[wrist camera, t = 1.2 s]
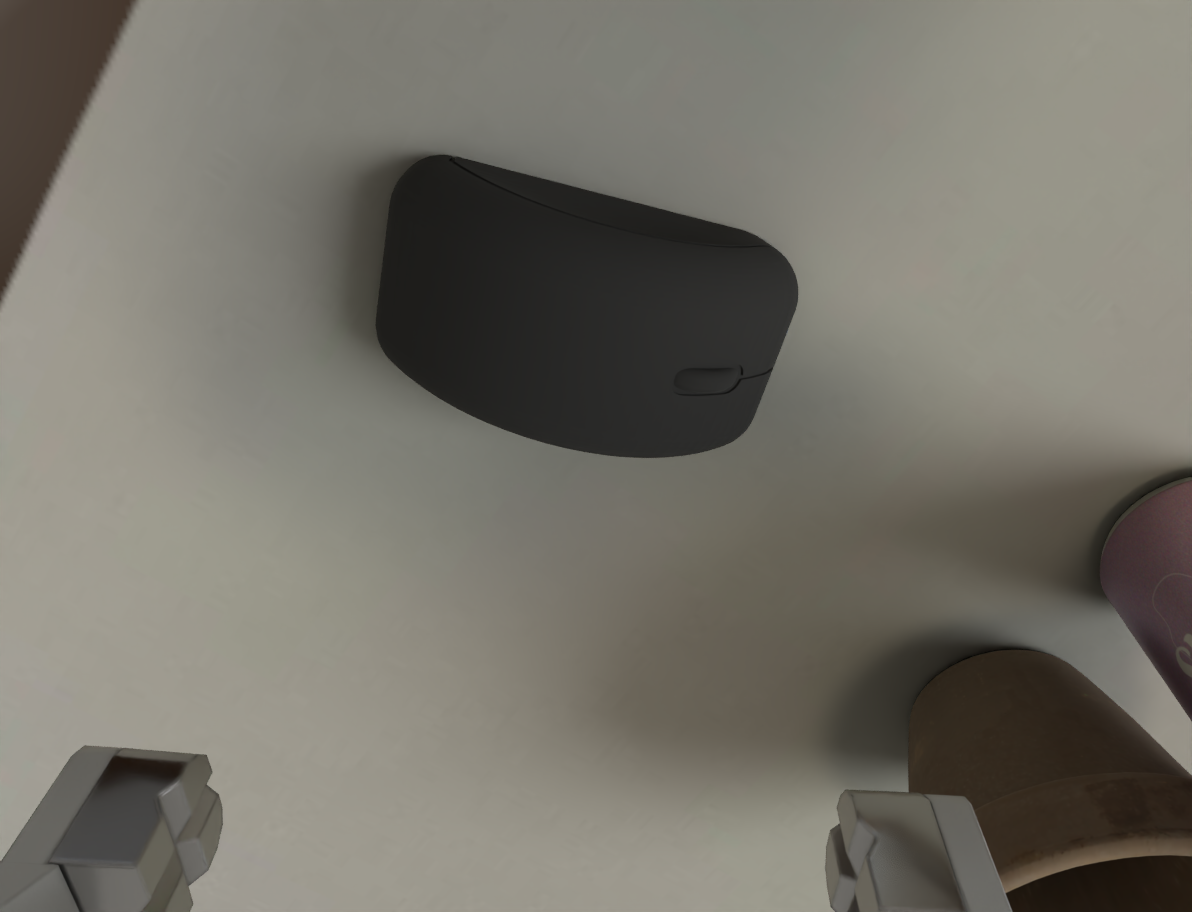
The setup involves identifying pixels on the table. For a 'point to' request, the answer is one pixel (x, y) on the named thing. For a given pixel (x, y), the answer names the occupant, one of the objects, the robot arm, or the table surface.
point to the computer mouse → (578, 311)
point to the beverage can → (1156, 581)
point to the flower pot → (1056, 785)
